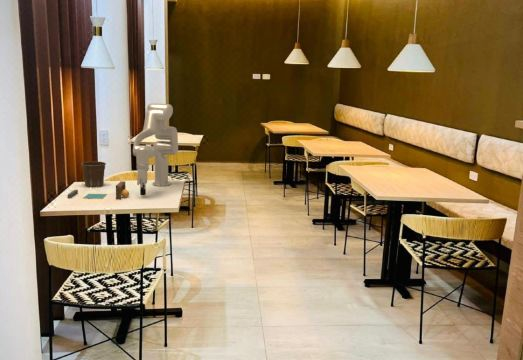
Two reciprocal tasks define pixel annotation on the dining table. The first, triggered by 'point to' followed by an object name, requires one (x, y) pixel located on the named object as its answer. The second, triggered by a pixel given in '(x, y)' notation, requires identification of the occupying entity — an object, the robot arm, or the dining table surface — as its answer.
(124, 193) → the ball
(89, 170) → the plant pot
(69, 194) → the stopper wall
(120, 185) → the bridge
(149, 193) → the dining table surface
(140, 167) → the robot arm
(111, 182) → the dining table surface
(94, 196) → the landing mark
